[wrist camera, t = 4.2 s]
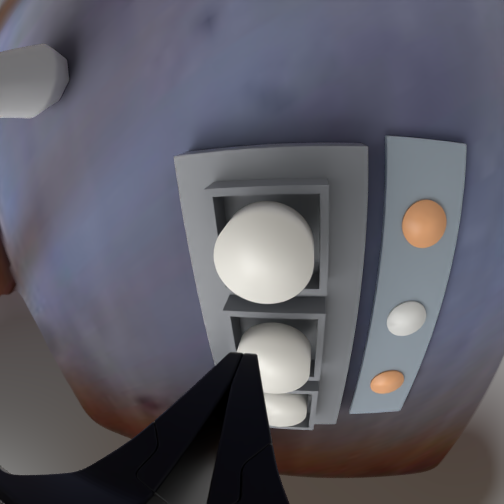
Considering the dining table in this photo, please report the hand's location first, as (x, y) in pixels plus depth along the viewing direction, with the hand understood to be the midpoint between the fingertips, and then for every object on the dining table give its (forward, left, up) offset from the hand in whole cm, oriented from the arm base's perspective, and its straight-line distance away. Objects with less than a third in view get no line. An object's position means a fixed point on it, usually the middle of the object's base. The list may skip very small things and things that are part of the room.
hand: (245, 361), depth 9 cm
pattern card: (-6, -9, -11) cm, 15 cm away
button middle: (-6, 0, -7) cm, 9 cm away
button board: (-6, 0, -10) cm, 12 cm away
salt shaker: (+13, +16, -11) cm, 24 cm away
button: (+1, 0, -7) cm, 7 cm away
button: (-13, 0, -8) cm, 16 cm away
